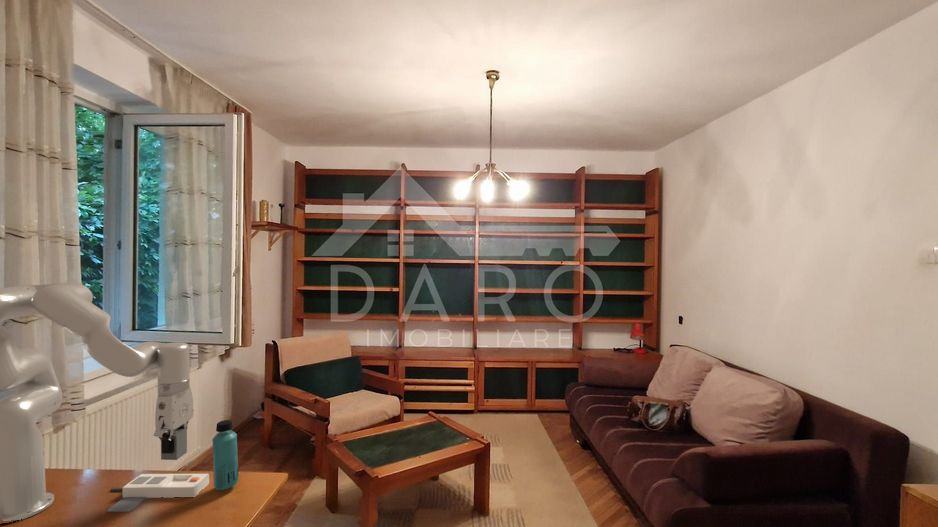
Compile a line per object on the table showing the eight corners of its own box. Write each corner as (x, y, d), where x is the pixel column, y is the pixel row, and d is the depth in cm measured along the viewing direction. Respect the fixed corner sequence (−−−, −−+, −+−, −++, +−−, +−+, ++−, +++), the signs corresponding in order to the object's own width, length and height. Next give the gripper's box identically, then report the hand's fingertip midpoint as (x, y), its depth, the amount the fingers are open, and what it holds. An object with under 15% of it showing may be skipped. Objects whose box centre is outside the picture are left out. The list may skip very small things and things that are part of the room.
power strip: (101, 497, 118) (100, 485, 118) (121, 483, 125) (121, 472, 125) (194, 497, 119) (193, 485, 119) (209, 483, 126) (208, 471, 126)
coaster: (106, 512, 112) (106, 510, 112) (124, 498, 118) (124, 497, 118) (129, 512, 112) (129, 510, 112) (146, 498, 118) (146, 497, 118)
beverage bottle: (227, 496, 119) (225, 427, 118) (207, 493, 121) (205, 425, 120) (244, 483, 126) (242, 418, 125) (225, 481, 127) (223, 416, 126)
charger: (161, 459, 119) (160, 434, 119) (171, 452, 124) (171, 428, 123) (176, 459, 119) (176, 435, 119) (186, 452, 124) (186, 428, 123)
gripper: (166, 397, 112) (166, 463, 113) (205, 377, 129) (205, 435, 130) (137, 396, 112) (138, 463, 113) (180, 376, 129) (180, 435, 130)
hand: (174, 447), depth 121 cm, fingers closed on charger, 4 cm apart
